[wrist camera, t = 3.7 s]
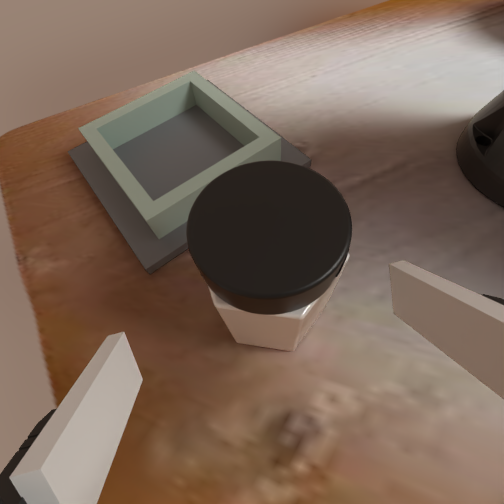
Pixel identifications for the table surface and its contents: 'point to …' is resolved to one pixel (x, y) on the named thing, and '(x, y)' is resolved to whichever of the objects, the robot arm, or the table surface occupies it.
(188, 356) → the table surface
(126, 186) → the green and grey tray
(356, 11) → the table surface
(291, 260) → the jar
